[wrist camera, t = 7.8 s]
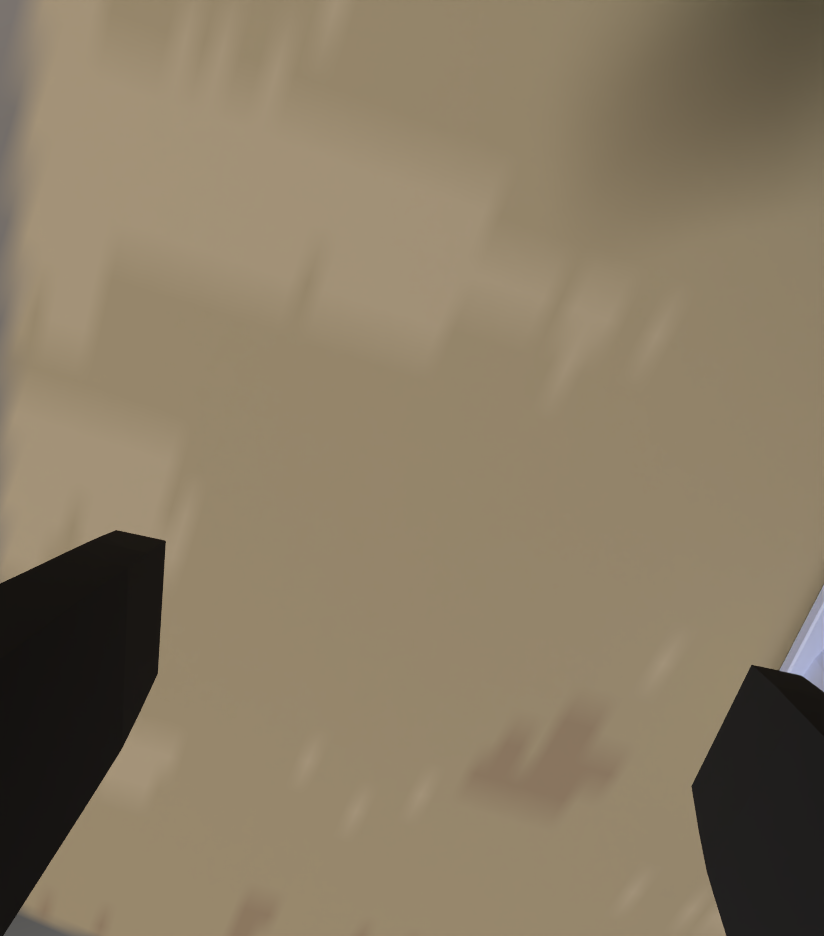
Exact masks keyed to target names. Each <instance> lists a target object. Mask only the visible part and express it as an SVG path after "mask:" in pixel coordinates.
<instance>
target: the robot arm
mask: <svg viewBox="0 0 824 936" xmlns="http://www.w3.org/2000/svg"><path fill="white" fill-rule="evenodd" d="M165 543H166V541H164V540H160V539H155V538H150V537H146V536H141V535H136V534H131V533H127V532H122V531H117V530H116V531H113V532H111V533H108V534H106V535H103V536H101V537H99V538H96V539H94V540H92V541H90V542H87V543H85V544H83V545H81V546H79V547H77V548H75V549H72V550H70V551H68V552H66V553H64V554H62V555H60V556H58V557H56V558H53V559H51V560H49V561H47V562H45V563H43V564H41V565H39V566H37V567H35V568H33V569H30V570H28V571H26V572H24V573H22V574H20V575H18V576H16V577H13V578H11V579H9V580H7V581H5V582H3V583H1V584H0V936H3V935H4V934H5V932H6V930H7V929H8V927H9V926H10V924H11V923H12V921H13V919H14V918H15V916H16V915H17V913H18V912H19V910H20V908H21V907H22V905H23V904H24V902H25V901H26V899H27V898H28V896H29V894H30V893H31V891H32V890H33V888H34V887H35V885H36V883H37V882H38V880H39V879H40V877H41V876H42V874H43V872H44V871H45V869H46V868H47V866H48V865H49V863H50V862H51V860H52V858H53V857H54V855H55V854H56V852H57V851H58V849H59V847H60V846H61V844H62V843H63V841H64V840H65V838H66V836H67V835H68V833H69V832H70V830H71V829H72V827H73V826H74V824H75V822H76V821H77V819H78V818H79V816H80V815H81V813H82V811H83V810H84V808H85V807H86V805H87V804H88V802H89V800H90V799H91V797H92V796H93V794H94V792H95V791H96V789H97V788H98V786H99V784H100V783H101V781H102V780H103V778H104V777H105V775H106V773H107V772H108V770H109V769H110V767H111V765H112V764H113V762H114V761H115V759H116V757H117V756H118V754H119V752H120V751H121V749H122V747H123V745H124V743H125V741H126V739H127V737H128V735H129V733H130V731H131V729H132V727H133V725H134V723H135V721H136V719H137V717H138V715H139V713H140V711H141V708H142V706H143V704H144V702H145V700H146V698H147V696H148V693H149V691H150V689H151V687H152V685H153V683H154V680H155V678H156V676H157V674H158V660H159V643H160V627H161V610H162V593H163V577H164V560H165ZM692 792H693V798H694V804H695V810H696V816H697V822H698V829H699V834H700V839H701V844H702V849H703V854H704V859H705V864H706V869H707V873H708V877H709V880H710V884H711V887H712V890H713V894H714V897H715V900H716V903H717V907H718V910H719V913H720V916H721V920H722V923H723V926H724V929H725V933H726V936H824V585H823V587H822V589H821V591H820V593H819V595H818V597H817V599H816V601H815V603H814V605H813V607H812V609H811V610H810V612H809V614H808V616H807V618H806V620H805V622H804V624H803V626H802V628H801V630H800V632H799V634H798V636H797V637H796V639H795V641H794V643H793V645H792V647H791V649H790V651H789V653H788V655H787V657H786V659H785V661H784V663H783V665H782V666H781V668H780V670H779V671H778V670H773V669H769V668H764V667H759V666H754V665H751V667H750V669H749V671H748V673H747V675H746V677H745V679H744V681H743V683H742V685H741V687H740V689H739V692H738V694H737V696H736V698H735V700H734V702H733V704H732V706H731V708H730V710H729V712H728V714H727V716H726V718H725V720H724V722H723V724H722V726H721V728H720V730H719V732H718V734H717V736H716V738H715V740H714V742H713V744H712V746H711V748H710V750H709V752H708V754H707V756H706V758H705V760H704V762H703V764H702V766H701V768H700V770H699V772H698V774H697V776H696V778H695V780H694V782H693V784H692Z"/></svg>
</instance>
